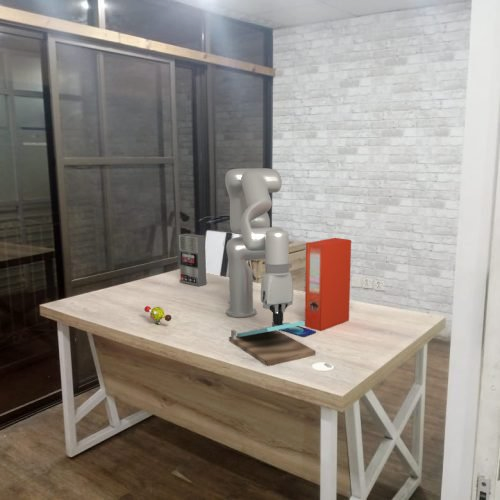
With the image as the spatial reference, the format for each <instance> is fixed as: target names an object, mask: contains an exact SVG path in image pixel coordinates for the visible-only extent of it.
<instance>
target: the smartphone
mask: <svg viewBox="0 0 500 500" xmlns="http://www.w3.org/2000/svg"><path fill="white" fill-rule="evenodd" d="M285 324H290V322H283V325H285ZM278 331H280V332H284V333H288V334H291V335H294V336H297V337H301V338H306V337H309V336H312V335H315V334H316V333H317V330H315V329H311V328H308V327H304V326H302V325H300V326H295V327H290V328H284V329H279V330H278Z"/></svg>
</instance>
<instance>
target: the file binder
mask: <svg viewBox="0 0 500 500" xmlns="http://www.w3.org/2000/svg"><path fill="white" fill-rule="evenodd" d="M351 258H352V240H351V239H346V238H339V237H331V238H326V239H322V240H317V241H312V242H311V241H310V242H307V243H305V286H304V288H305V291H304V293H305V294H304V296H305V298H304V299H305V301H304V302H305V303H304V321H305V325H304V326H305V328H307V329H311V330H314V331H319V332H323V331H325V330H328V329H330V328H333V327H335V326H338V325H341V324H344V323H346V322H348V321H350V295H351V293H350V292H351V289H350V288H351V266H352V265H351V264H352V263H351V262H352V261H351V260H352V259H351Z"/></svg>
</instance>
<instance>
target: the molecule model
mask: <svg viewBox="0 0 500 500" xmlns="http://www.w3.org/2000/svg"><path fill="white" fill-rule="evenodd" d="M144 312H145V313H149V314H150V316H149V317H150V318H151V319H152V320H154V321H155V322H154V324H155V325H157V326H158V325H161V320H162V319H163V318H164V320H165V321H166V322H170V321H171V320H172V315H170V314H166V315H165V310H164V309H163V308H162V307H160V306H154V307H150V306H148V305H147V306H145V307H144Z"/></svg>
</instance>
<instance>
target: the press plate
mask: <svg viewBox="0 0 500 500" xmlns="http://www.w3.org/2000/svg"><path fill="white" fill-rule="evenodd" d="M289 323H290V322H289ZM295 326H305V320H302V321H297V322H291V323H290V324H285V325H280V326H274V327H272V326H268V327H262V328H258V329H253V330H248V331H243V332H238V333H236V336H238V337H242V336H247V335H253V334H258V333H264V332H269V331H274V330H277V331H280V330H279V329H284V328H290V327H295Z"/></svg>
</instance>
